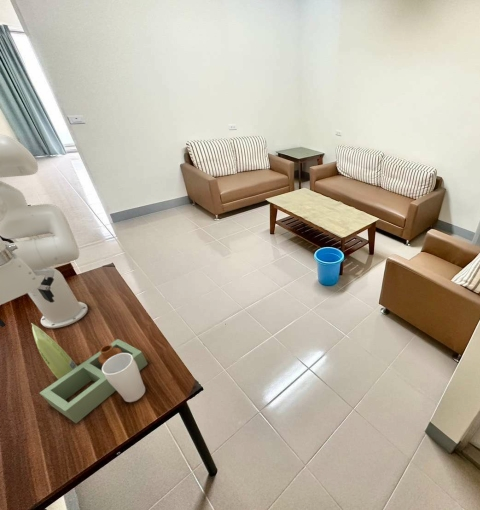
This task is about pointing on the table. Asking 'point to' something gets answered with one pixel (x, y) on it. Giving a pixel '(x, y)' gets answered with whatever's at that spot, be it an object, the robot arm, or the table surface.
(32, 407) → the table surface
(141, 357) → the caddy
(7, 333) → the table surface
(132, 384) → the white cup
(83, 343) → the table surface
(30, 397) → the table surface
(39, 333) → the tube
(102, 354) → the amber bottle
